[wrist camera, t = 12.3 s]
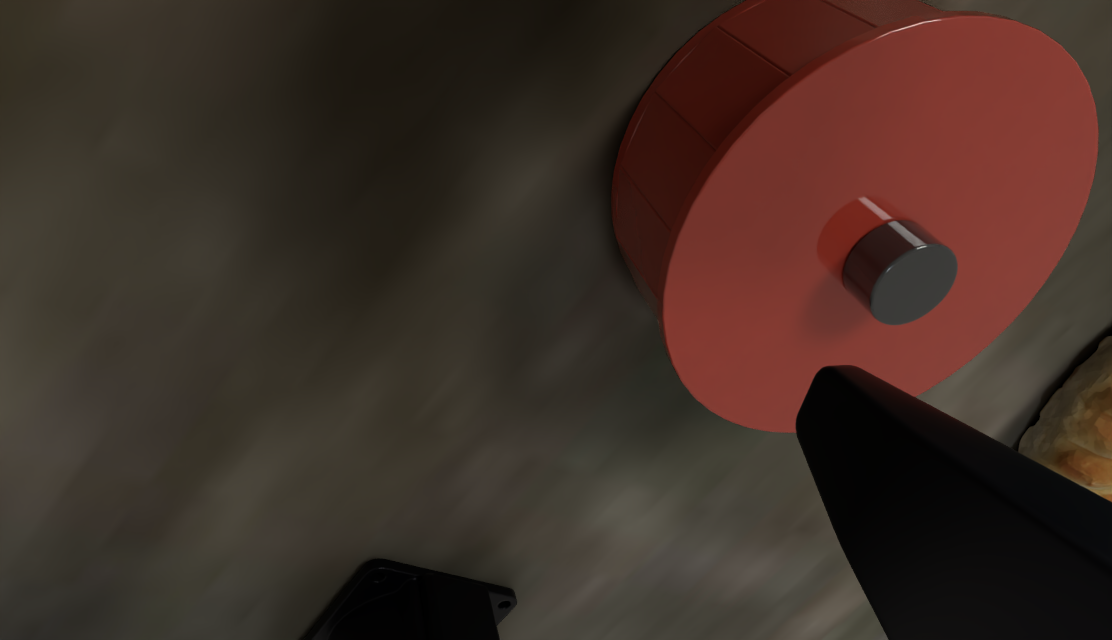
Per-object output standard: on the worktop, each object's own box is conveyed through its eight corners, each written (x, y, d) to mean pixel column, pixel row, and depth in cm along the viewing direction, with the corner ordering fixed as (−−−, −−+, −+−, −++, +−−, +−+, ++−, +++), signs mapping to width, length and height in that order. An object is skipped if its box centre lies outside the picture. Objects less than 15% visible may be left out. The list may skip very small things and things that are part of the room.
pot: (821, 341, 27) (899, 431, 24) (553, 286, 23) (601, 386, 19) (1017, 53, 22) (1153, 112, 19) (725, -90, 18) (831, -48, 14)
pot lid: (889, 428, 24) (934, 480, 23) (573, 381, 20) (601, 442, 18) (1153, 92, 19) (1237, 127, 17) (810, -85, 14) (880, -61, 13)
